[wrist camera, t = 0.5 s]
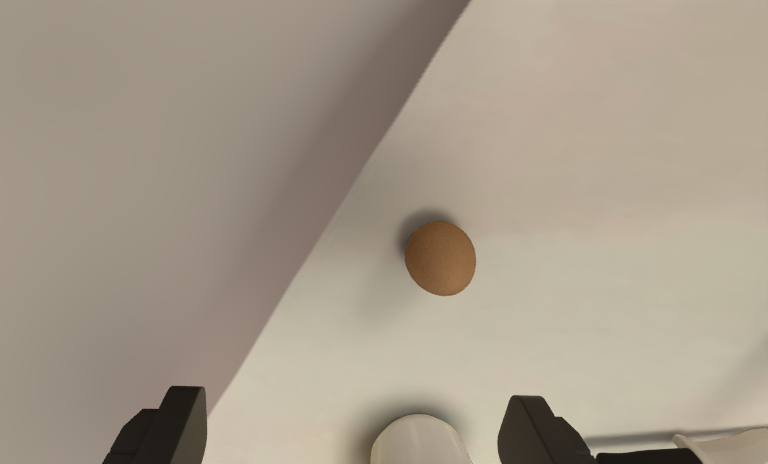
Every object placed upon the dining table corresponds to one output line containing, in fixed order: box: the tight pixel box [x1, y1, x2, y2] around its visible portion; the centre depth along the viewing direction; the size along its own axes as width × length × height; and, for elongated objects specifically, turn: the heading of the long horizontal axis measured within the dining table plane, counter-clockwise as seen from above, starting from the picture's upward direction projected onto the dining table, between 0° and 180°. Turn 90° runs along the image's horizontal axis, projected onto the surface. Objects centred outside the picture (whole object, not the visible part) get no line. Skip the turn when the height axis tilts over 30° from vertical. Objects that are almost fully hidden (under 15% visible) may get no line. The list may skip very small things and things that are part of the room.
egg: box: [405, 222, 476, 296], centre depth 27 cm, size 4×4×6 cm
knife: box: [596, 428, 768, 464], centre depth 38 cm, size 25×2×5 cm, turn 89°
